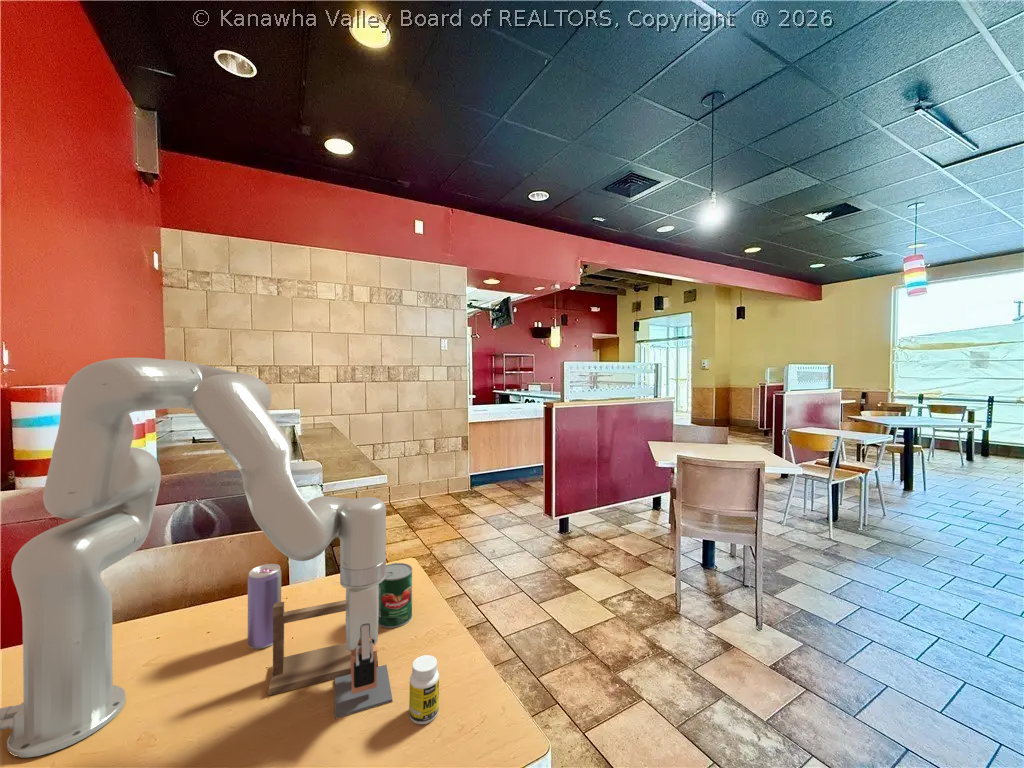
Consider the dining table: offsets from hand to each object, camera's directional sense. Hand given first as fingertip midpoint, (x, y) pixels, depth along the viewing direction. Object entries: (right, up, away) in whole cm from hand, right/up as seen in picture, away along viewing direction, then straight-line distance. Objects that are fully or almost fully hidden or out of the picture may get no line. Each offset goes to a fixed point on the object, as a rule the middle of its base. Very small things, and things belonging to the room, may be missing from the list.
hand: (363, 671), depth 71 cm
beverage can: (-25, -3, +13) cm, 29 cm away
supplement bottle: (+12, -4, -5) cm, 13 cm away
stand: (-9, -3, +6) cm, 11 cm away
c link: (0, -2, 0) cm, 2 cm away
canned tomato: (-1, -3, +22) cm, 22 cm away
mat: (0, -3, 0) cm, 3 cm away
